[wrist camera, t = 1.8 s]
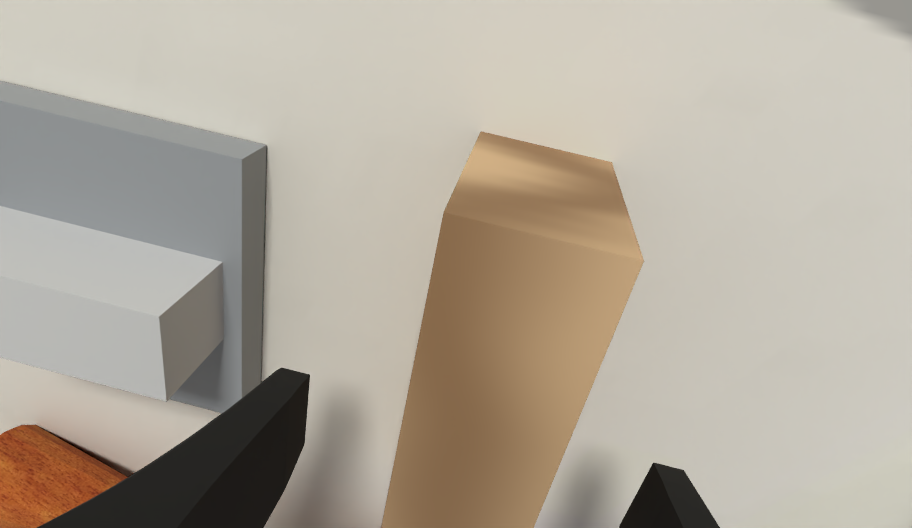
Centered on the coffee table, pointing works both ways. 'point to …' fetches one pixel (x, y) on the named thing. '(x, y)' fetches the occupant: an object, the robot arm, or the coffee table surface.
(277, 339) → the coffee table surface
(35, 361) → the balance stand
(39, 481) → the kendama
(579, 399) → the oak bar
